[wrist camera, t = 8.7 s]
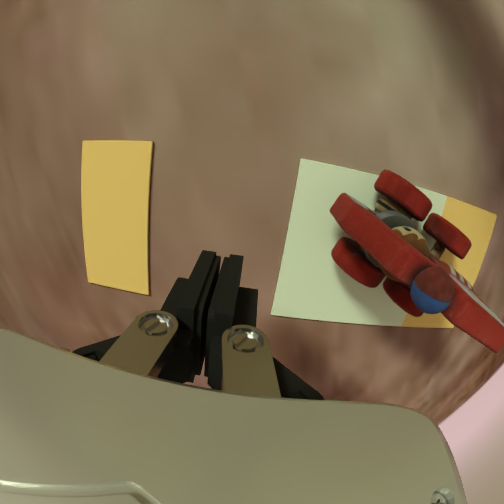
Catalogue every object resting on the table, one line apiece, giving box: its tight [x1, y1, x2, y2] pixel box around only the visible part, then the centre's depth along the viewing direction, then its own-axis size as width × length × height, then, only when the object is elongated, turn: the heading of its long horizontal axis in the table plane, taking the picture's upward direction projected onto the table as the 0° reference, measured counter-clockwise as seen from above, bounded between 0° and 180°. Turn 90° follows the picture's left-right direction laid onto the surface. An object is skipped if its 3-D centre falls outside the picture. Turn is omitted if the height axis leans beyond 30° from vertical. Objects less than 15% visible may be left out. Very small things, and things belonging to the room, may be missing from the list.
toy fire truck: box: [330, 170, 504, 353], centre depth 14 cm, size 7×12×10 cm, turn 60°
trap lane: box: [81, 140, 497, 328], centre depth 20 cm, size 12×35×1 cm, turn 82°
